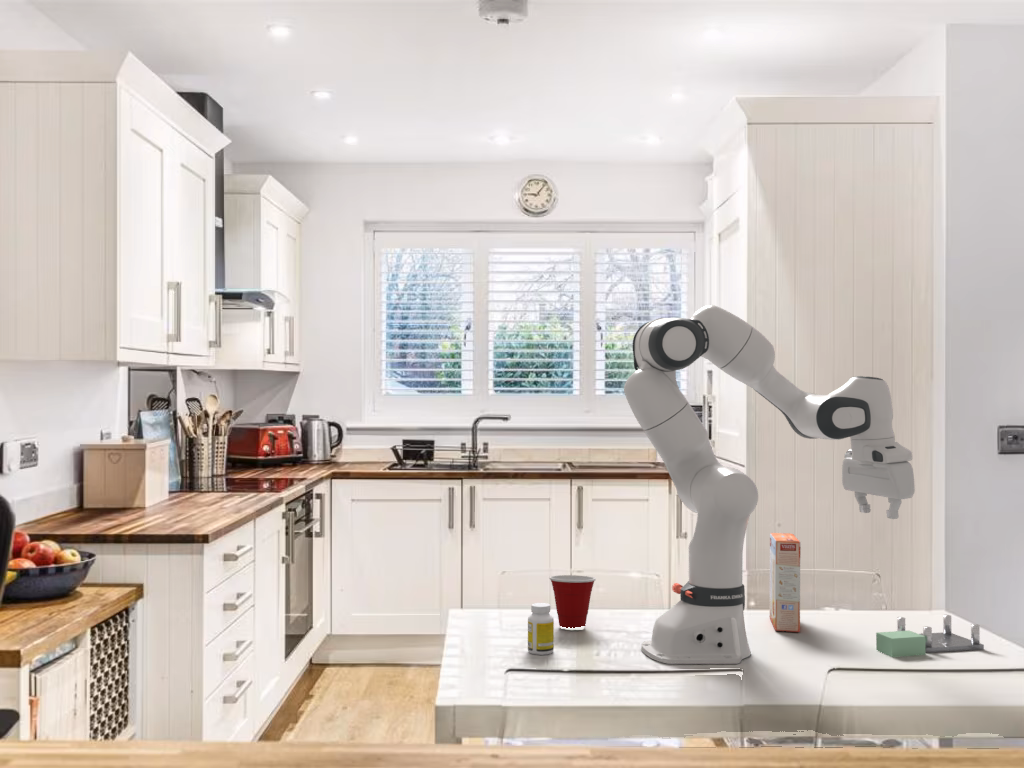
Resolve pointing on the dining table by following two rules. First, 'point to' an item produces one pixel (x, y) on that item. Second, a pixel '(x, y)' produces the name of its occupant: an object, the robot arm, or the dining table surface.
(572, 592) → the plastic cup
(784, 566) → the cracker box
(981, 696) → the dining table surface
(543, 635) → the supplement bottle
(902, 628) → the chassis
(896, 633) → the green rectangular block
